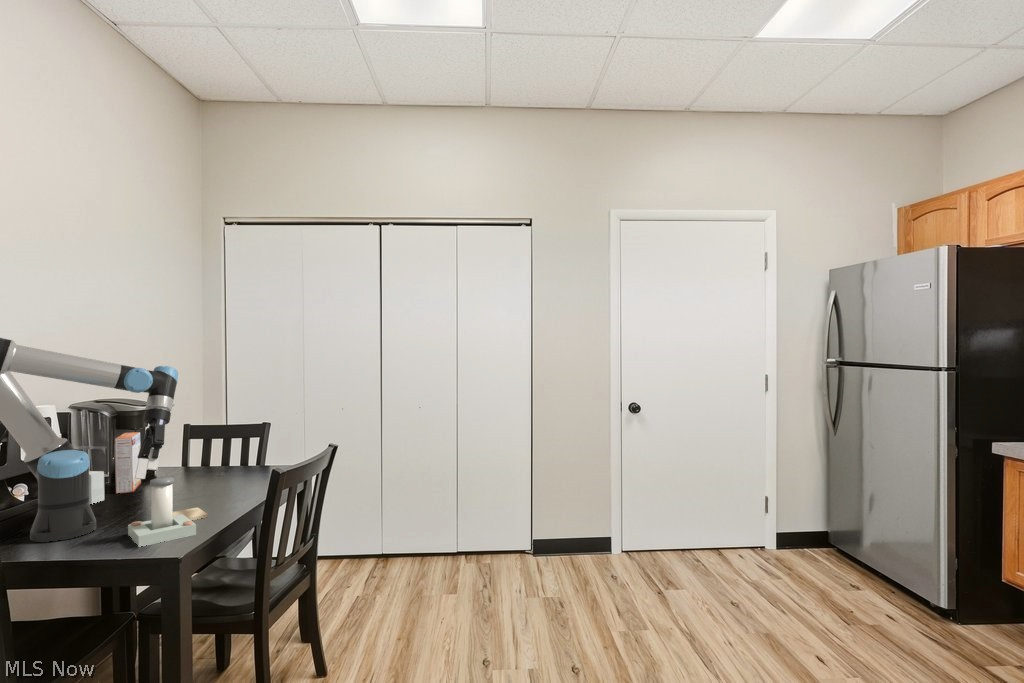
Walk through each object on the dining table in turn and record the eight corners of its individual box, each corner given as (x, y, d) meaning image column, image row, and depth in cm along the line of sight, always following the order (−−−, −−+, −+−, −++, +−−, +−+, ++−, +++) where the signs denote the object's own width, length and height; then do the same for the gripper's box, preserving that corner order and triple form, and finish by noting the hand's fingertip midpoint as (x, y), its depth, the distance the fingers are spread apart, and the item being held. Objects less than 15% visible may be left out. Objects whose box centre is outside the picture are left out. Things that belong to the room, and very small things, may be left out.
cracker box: (123, 485, 218) (123, 432, 218) (141, 484, 220) (141, 431, 221) (114, 494, 205) (113, 437, 205) (133, 492, 208) (133, 436, 208)
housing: (138, 547, 150) (138, 534, 150) (128, 535, 160) (128, 522, 160) (196, 534, 160) (196, 522, 160) (182, 523, 170) (182, 512, 170)
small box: (104, 500, 197) (104, 471, 197) (91, 505, 191) (91, 474, 191) (84, 500, 198) (84, 470, 198) (70, 504, 192) (70, 474, 192)
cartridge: (152, 539, 156) (152, 483, 156) (147, 535, 160) (147, 479, 160) (176, 534, 160) (176, 479, 160) (170, 530, 164) (170, 476, 164)
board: (168, 525, 169) (168, 522, 169) (159, 517, 177) (159, 514, 177) (207, 517, 176) (207, 514, 176) (197, 510, 184) (197, 507, 184)
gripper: (182, 402, 181) (170, 466, 172) (160, 422, 197) (148, 483, 188) (156, 398, 176) (143, 464, 167) (135, 419, 192) (122, 481, 183)
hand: (145, 474), depth 177 cm, fingers open, 13 cm apart
